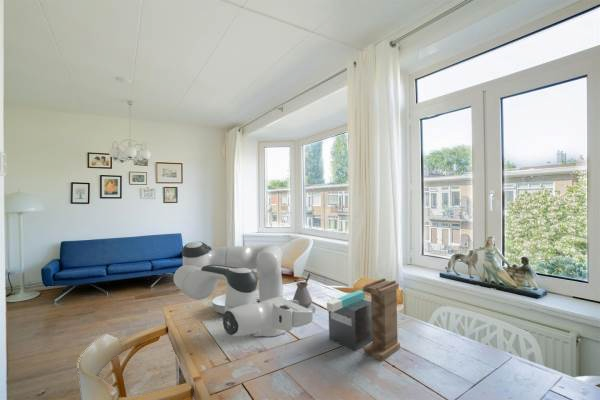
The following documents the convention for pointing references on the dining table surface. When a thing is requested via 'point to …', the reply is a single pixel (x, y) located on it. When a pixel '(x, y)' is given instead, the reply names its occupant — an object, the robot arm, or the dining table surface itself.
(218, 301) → the serving bowl
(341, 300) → the teal bar
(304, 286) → the coffee pot
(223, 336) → the dining table surface
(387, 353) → the post
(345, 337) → the switch box
